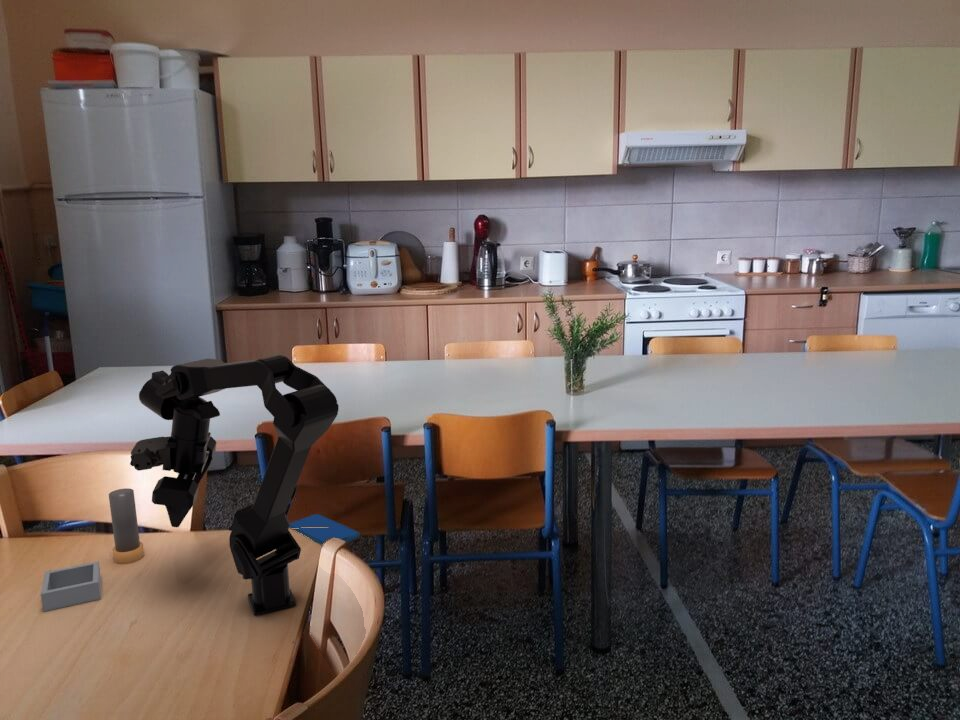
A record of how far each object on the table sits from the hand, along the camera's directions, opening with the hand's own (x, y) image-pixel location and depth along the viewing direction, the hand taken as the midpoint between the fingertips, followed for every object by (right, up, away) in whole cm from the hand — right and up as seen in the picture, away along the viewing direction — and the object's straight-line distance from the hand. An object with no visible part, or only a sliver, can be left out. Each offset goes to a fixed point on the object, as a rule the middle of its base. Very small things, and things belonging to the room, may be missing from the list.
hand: (182, 510), depth 127 cm
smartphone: (+21, -8, +16) cm, 27 cm away
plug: (-12, -10, +6) cm, 17 cm away
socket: (-15, -12, -6) cm, 21 cm away
